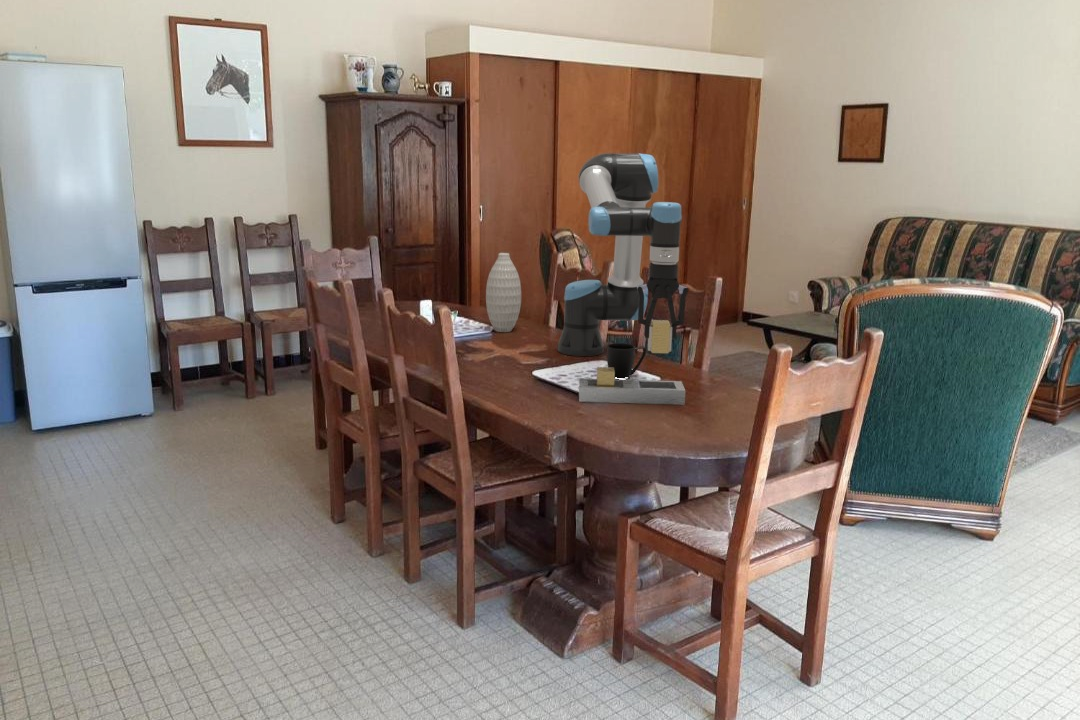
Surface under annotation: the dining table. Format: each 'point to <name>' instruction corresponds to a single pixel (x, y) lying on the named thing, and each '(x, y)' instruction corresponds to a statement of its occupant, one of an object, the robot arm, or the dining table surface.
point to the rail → (633, 392)
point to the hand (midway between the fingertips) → (659, 349)
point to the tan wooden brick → (605, 376)
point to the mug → (623, 358)
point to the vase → (503, 294)
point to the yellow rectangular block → (660, 336)
